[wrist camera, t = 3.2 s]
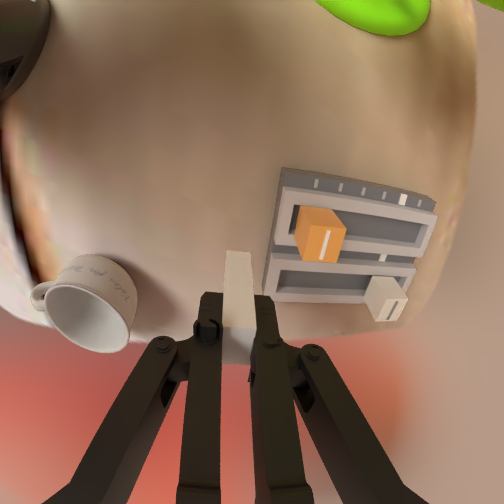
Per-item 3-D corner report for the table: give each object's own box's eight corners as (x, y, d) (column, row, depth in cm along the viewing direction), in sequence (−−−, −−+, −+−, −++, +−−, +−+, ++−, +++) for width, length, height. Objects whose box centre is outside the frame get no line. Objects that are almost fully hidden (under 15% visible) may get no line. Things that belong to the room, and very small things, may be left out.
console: (282, 167, 26) (287, 176, 23) (426, 195, 28) (441, 206, 25) (261, 284, 33) (264, 302, 30) (389, 290, 35) (399, 305, 32)
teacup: (153, 261, 30) (134, 308, 23) (138, 321, 35) (124, 367, 28) (53, 223, 27) (17, 258, 20) (53, 287, 32) (28, 325, 25)
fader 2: (368, 269, 30) (387, 299, 25) (388, 271, 30) (409, 299, 25) (359, 291, 31) (375, 322, 27) (379, 292, 32) (397, 321, 27)
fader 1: (297, 200, 25) (311, 225, 20) (327, 204, 25) (347, 229, 21) (291, 231, 27) (302, 261, 22) (320, 234, 27) (336, 263, 22)
